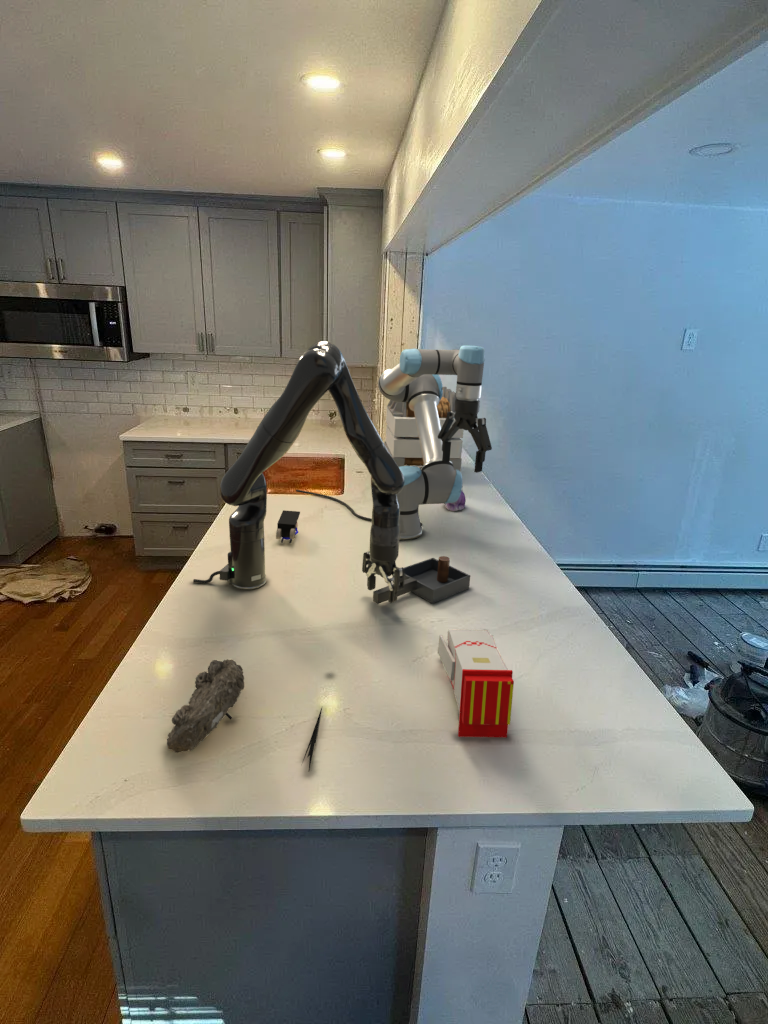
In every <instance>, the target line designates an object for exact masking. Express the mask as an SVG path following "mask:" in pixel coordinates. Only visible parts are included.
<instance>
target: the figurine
mask: <svg viewBox="0 0 768 1024" xmlns="http://www.w3.org/2000/svg"><path fill="white" fill-rule="evenodd" d="M460 472H461V473H462V470H461V471H460ZM466 503H467V502H466V496H465V492H464V491H463V490H461V494H460V497H459V499H458V500H457V501H456V502H453V503H446V504H444V507H445V508H446V510H448V511H451V512H452V511H453V512H457V511H462V510H463V509H465V505H466Z"/></svg>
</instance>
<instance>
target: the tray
mask: <svg viewBox="0 0 768 1024" xmlns="http://www.w3.org/2000/svg"><path fill="white" fill-rule="evenodd" d="M438 560H439V559H437V558H435V557H431V558H428V559H425V560H422V561H419V562H416V563H414V564H410V565H408V566H405V567H403V568H404V569H405V575H404V589H402V590H399V591H398V593H397V598H398V597H400V596H403V595H405V594H408V593H413V594H415V595H417V596H418V597H420V598H422V599H423V600H425V601H427V602H429V603H431V604H435V603H437V602H439V601H442V600H444V599H447V598H449V597H452V596H454V595H457V594H459V593H461V592H463V591H466V590H468V589H470V582H471V575H470V574H468V573H466V572H463V571H462V570H460V569H457V568H456V567H453V566H451V565H449V573H448V581H447V582H445V583H442V582H438V581H437V572H438ZM392 585H394V583H392ZM399 585H400V582H399ZM389 590H390V589H389V586H388V585H387V586H384V587H381V588H379V589H376V590H374V591H373V590H372V602H373V603H374V604H376V605H380V604H383V603H384V602H387V601H388V598H389Z"/></svg>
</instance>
